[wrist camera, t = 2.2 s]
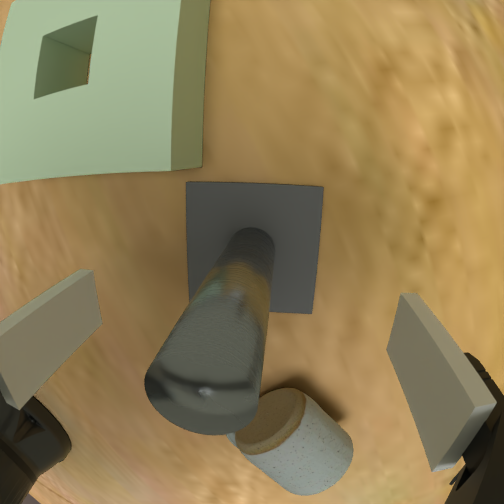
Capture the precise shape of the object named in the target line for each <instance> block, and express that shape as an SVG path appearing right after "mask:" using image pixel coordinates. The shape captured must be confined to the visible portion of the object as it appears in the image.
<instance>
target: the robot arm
mask: <svg viewBox="0 0 504 504" xmlns="http://www.w3.org/2000/svg"><path fill="white" fill-rule="evenodd" d="M102 324H103V323H102V318H101V313H100V308H99V303H98V297H97V292H96V286H95V280H94V273H93V270H86V269H79V270H78V271H76V272H75V273H73V274H71V275H70V276H68V277H67V278H65V279H64V280H62V281H60V282H59V283H57V284H56V285H54V286H53V287H51V288H50V289H48V290H47V291H45V292H44V293H42V294H40V295H39V296H37V297H36V298H34V299H33V300H32V301H30V302H29V303H27V304H26V305H24V306H23V307H21V308H20V309H18V310H17V311H15V312H14V313H13V314H11V315H10V316H8V317H7V318H5V319H4V320H3V321H1V322H0V504H22V502H23V500H24V499H25V497H26V496H27V494H28V493H29V491H30V489H31V488H32V486H33V485H34V483H35V482H36V480H37V479H38V477H39V476H40V475H42V474H43V473H44V472H46V471H47V470H49V469H50V468H52V467H53V466H54V465H56V464H57V463H58V462H61V461H63V460H64V459H65V458H66V456H67V455H68V453H69V452H70V450H71V443H70V440H69V438H68V436H67V434H66V433H65V431H64V430H63V428H62V427H61V426H60V424H59V423H58V422H57V421H56V419H55V418H54V417H53V416H52V415H51V414H50V413H49V412H48V411H47V410H46V409H45V408H44V407H43V406H42V405H41V404H40V403H39V402H38V401H37V400H36V399H35V398H34V397H32V396H33V395H34V394H35V393H36V392H37V390H38V389H39V388H40V387H41V386H42V385H43V384H44V383H45V382H46V381H47V380H48V379H49V378H50V377H51V376H52V374H53V373H54V372H55V371H56V370H57V369H58V368H59V367H60V366H61V365H62V364H63V363H64V362H65V361H66V360H67V359H68V358H69V357H70V356H71V355H72V354H73V353H74V352H75V351H76V350H77V349H78V348H79V347H80V346H81V345H82V344H83V343H84V342H85V341H86V340H87V339H88V338H89V337H90V336H91V335H92V334H93V333H94V332H95V331H96V330H97V329H98V328H99V327H100V326H101V325H102ZM386 350H387V352H388V355H389V357H390V360H391V362H392V364H393V367H394V369H395V372H396V374H397V377H398V379H399V381H400V384H401V387H402V389H403V392H404V394H405V397H406V399H407V402H408V405H409V407H410V410H411V413H412V415H413V418H414V421H415V423H416V426H417V429H418V432H419V435H420V438H421V441H422V443H423V446H424V449H425V452H426V455H427V458H428V462H429V465H430V468H431V471H432V472H435V471H440V470H444V469H449V468H453V467H454V465H455V464H456V463H457V461H458V460H459V459H460V458H461V456H463V458H464V461H465V463H466V464H465V465H464V466H463V468H462V469H461V470H460V471H459V472H458V474H457V475H456V476H455V477H454V478H453V480H452V481H451V482H450V483H449V484H450V485H452V484H453V483H454V482H455V481H456V482H455V484H454V486H453V488H452V490H451V492H450V494H449V496H448V498H447V500H446V502H445V504H504V395H503V394H502V392H501V391H500V389H499V388H498V386H497V385H496V384H495V382H494V381H493V379H491V376H490V375H489V374H488V372H486V371H485V368H484V367H483V365H482V364H481V363H480V361H479V360H478V359H476V358H475V357H474V356H472V355H471V354H470V353H463V352H462V350H461V349H460V348H459V346H458V345H457V344H456V342H455V341H454V340H453V338H452V337H451V336H450V334H449V333H448V332H447V330H446V329H445V328H444V326H443V325H442V324H441V322H440V321H439V320H438V319H437V317H436V316H435V315H434V314H433V312H432V311H431V310H430V309H429V307H428V306H427V305H426V304H425V302H424V301H423V300H422V299H421V297H420V296H419V295H418V294H417V293H401V294H400V298H399V303H398V307H397V311H396V315H395V319H394V323H393V327H392V331H391V335H390V339H389V342H388V346H387V349H386Z"/></svg>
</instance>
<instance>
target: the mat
mask: <svg viewBox="0 0 504 504" xmlns="http://www.w3.org/2000/svg"><path fill="white" fill-rule="evenodd" d="M323 189H324V187H319V186H304V185H288V184H267V183H240V182H186V228H187V261H188V284H189V302H190V301H191V300H192V298H193V296H194V295H195V293H196V292H197V290H198V289H199V287H200V286H201V284H202V282H203V281H204V279H205V278H206V276H207V275H208V273H209V271H210V270H211V268H212V267H213V265H214V264H215V262H216V261H217V259H218V258H219V256H220V254H221V253H222V251H223V250H224V248H225V247H226V245H227V244H228V242H229V241H230V239H231V238H232V236H233V235H234V234H235V233H236V232H238V231H239V230H241V229H244V228H249V227H253V228H258V229H261V230H263V231H265V232H266V233H267V234H268V235H269V236H270V237H271V238H272V240H273V242H274V245H275V260H274V270H273V280H272V290H271V299H270V308H269V312H283V313H301V314H312V309H313V300H314V292H315V283H316V273H317V264H318V253H319V242H320V231H321V218H322V204H323Z"/></svg>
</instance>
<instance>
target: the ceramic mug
mask: <svg viewBox="0 0 504 504" xmlns="http://www.w3.org/2000/svg"><path fill="white" fill-rule="evenodd" d="M226 435H227V438H228V439H229V440H230V442H231V443H232V444H233V445H235V446H236V447H237V448H238V449H239V450H240V451H241V453H242V454H243V455H244V456H245V457H246V458H247V459H248V460H249V461H250V462H251V463H252V464H254V465H255V466H256V467H258V468H259V469H261V470H262V471H263V472H264V473H265V474H267V475H268V476H269V477H270V478H272V479H273V480H274V481H275V482H277V483H278V484H279V485H281V486H282V487H283V488H284V489H286V490H287V491H289V492H291V493H293V494H297V495H313V494H317V493H320V492H322V491H324V490H326V489H328V488H329V487H331V486H333V485H334V484H335V483H336V482H337V481H339V480H340V479H341V477H342V476H343V475H344V474H345V472H346V471H347V469H348V467H349V466H350V463H351V461H352V457H353V443H352V440H351V438H350V436H349V435H348V433H347V432H346V431H344V430H343V429H342V428H341V427H340V426H339V425H338V424H337V423H336V422H335V421H334V420H333V419H332V418H331V417H330V416H329V415H328V414H327V413H325V412H324V411H323V410H322V409H321V407H320V406H319V405H318V404H317V403H316V402H315V401H314V400H313V399H312V398H310V397H309V396H308V395H306V394H305V393H303V392H301V391H300V390H297V389H295V388H281V389H277V390H274V391H271V392H269V393H267V394H265V395H264V396H262V397H261V398H259V401H258V409H257V413H256V415H255V417H254V419H253V420H252V421H251V422H250V424H248V425H247V426H246V427H244V428H243V429H241V430H239V431H236V432H233V433H230V434H226Z"/></svg>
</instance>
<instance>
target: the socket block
mask: <svg viewBox="0 0 504 504" xmlns="http://www.w3.org/2000/svg"><path fill="white" fill-rule="evenodd" d="M209 11H210V0H16V1H14V2H13V3H12V4H11V7H10V11H9V14H8V17H7V21H6V25H5V29H4V33H3V37H2V41H1V45H0V184H5V183H12V182H20V181H28V180H37V179H46V178H56V177H66V176H78V175H91V174H106V173H125V172H150V171H174V170H182V169H190V168H198V167H202V145H203V111H204V87H205V68H206V51H207V36H208V23H209ZM90 54H92V55H91V63H90V71H89V81H88V84H86V82H87V72H88V64H89V56H90Z"/></svg>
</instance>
